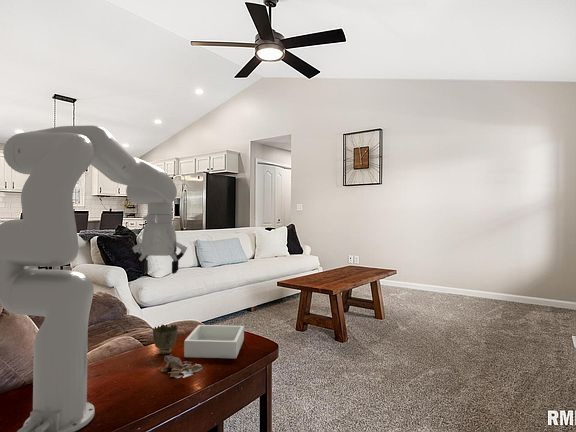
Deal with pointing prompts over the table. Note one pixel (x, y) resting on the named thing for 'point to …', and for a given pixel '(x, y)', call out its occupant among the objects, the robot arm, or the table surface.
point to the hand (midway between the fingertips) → (159, 272)
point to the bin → (214, 341)
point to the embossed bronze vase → (164, 338)
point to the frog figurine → (179, 367)
